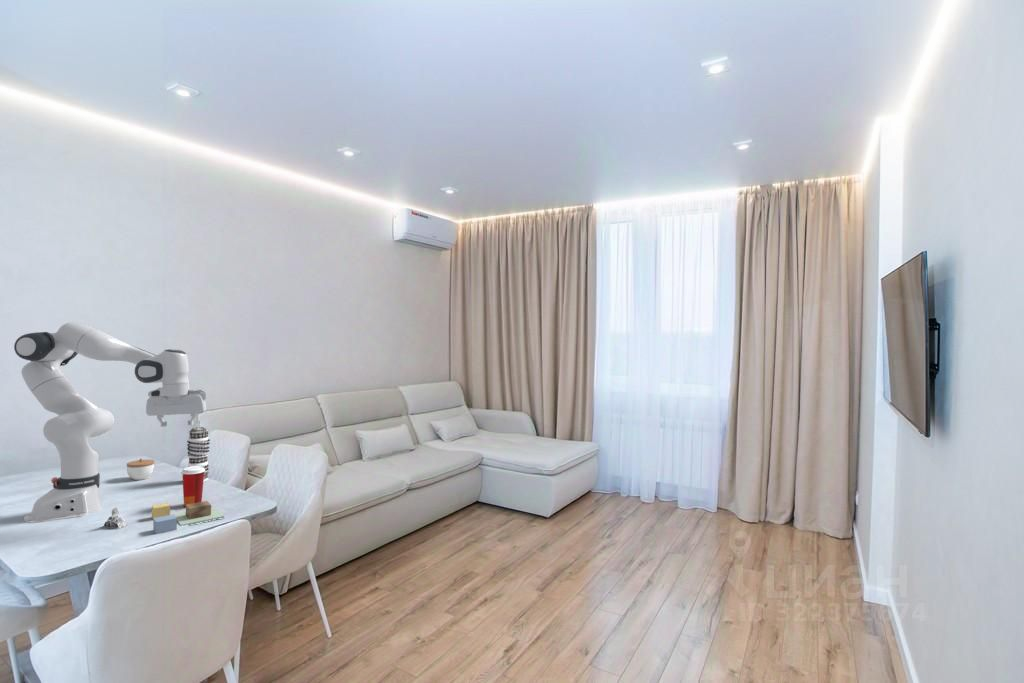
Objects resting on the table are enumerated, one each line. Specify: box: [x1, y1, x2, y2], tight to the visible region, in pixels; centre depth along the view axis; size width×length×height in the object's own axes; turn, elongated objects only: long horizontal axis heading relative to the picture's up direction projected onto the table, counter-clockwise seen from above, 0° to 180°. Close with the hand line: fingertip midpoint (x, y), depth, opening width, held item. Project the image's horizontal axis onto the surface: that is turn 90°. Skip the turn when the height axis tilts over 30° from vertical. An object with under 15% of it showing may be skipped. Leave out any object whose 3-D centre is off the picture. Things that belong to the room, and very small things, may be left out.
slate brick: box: [152, 513, 178, 535], centre depth 177 cm, size 6×5×5 cm
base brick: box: [185, 500, 212, 519], centre depth 191 cm, size 7×6×4 cm
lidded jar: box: [126, 458, 155, 481], centre depth 240 cm, size 11×11×9 cm
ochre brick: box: [151, 502, 171, 520], centre depth 189 cm, size 5×4×5 cm
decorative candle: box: [186, 426, 211, 483], centre depth 239 cm, size 9×9×25 cm
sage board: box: [171, 506, 225, 526], centre depth 191 cm, size 14×14×1 cm
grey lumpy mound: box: [101, 507, 128, 530], centre depth 181 cm, size 9×9×8 cm
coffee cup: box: [180, 466, 205, 507], centre depth 205 cm, size 8×8×15 cm
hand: (177, 425), depth 198 cm, fingers open, 8 cm apart
